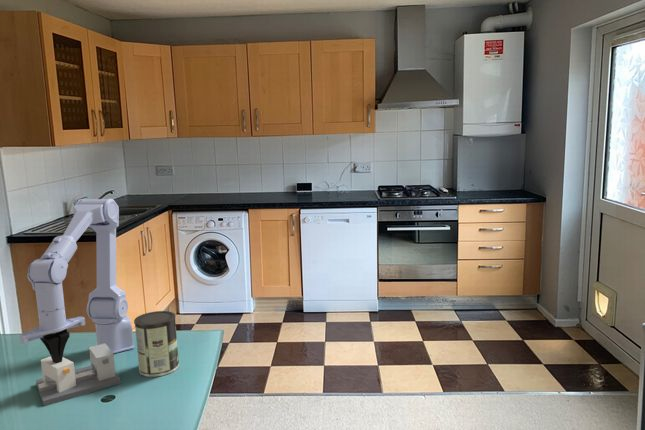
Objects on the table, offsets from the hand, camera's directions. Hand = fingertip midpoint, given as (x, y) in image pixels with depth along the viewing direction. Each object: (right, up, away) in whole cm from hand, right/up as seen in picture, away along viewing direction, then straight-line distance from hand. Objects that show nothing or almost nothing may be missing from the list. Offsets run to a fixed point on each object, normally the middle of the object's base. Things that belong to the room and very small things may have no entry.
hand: (57, 361), depth 124 cm
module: (0, -6, +1) cm, 6 cm away
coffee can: (+21, -5, +11) cm, 24 cm away
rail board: (+3, -7, +3) cm, 8 cm away
